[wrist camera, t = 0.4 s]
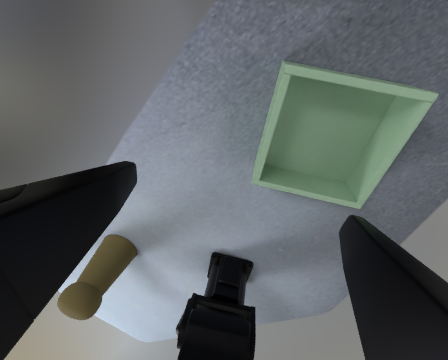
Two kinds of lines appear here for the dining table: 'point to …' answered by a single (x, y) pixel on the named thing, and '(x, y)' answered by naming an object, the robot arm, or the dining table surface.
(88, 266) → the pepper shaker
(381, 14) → the dining table surface
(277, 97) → the tray
